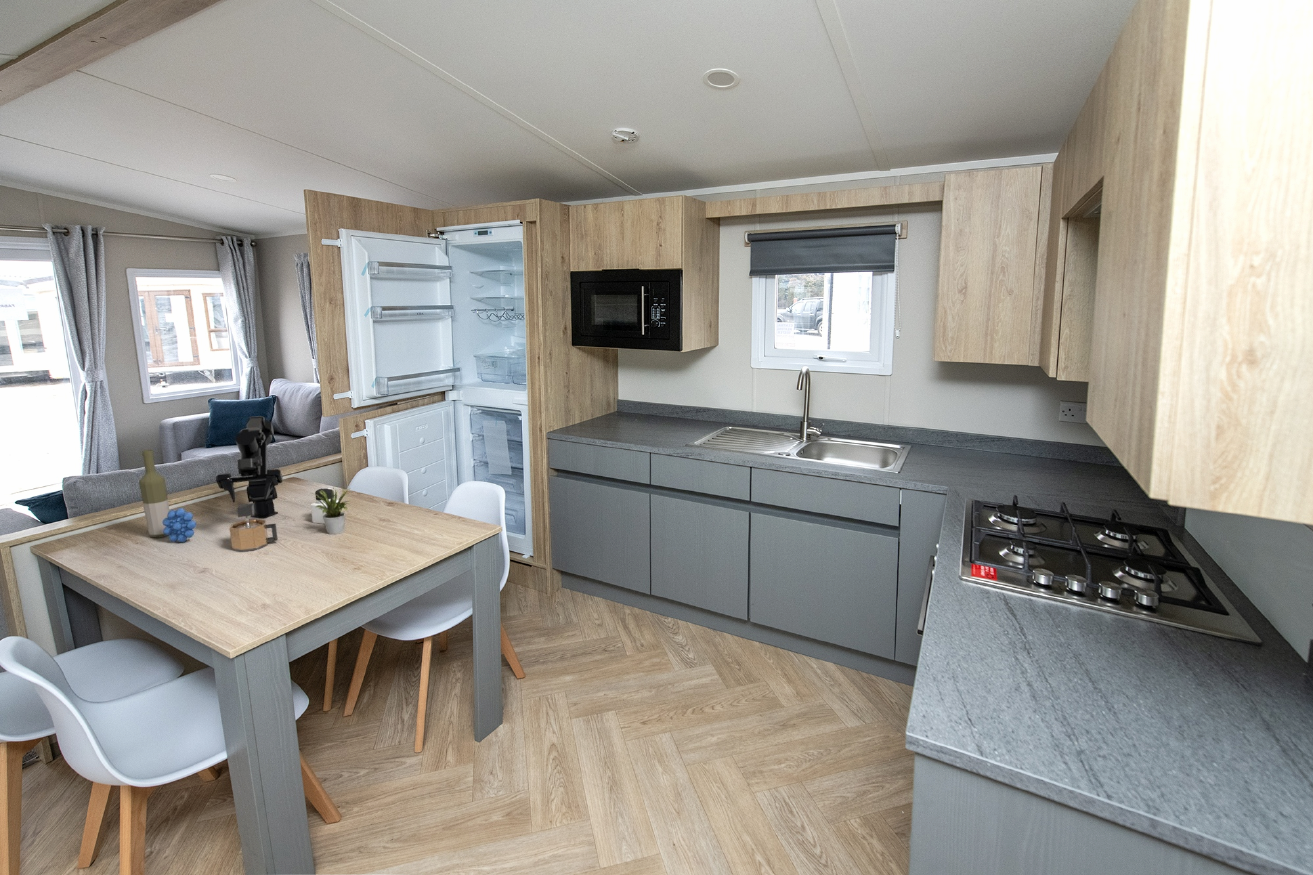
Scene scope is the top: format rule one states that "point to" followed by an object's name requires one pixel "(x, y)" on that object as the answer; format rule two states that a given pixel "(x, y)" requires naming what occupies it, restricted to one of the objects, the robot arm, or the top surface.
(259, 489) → the robot arm
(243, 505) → the grey cube on disc
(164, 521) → the grapes
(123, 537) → the top surface
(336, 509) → the house plant
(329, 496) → the medicine bottle
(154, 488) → the bottle
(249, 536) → the octagonal wooden mug
